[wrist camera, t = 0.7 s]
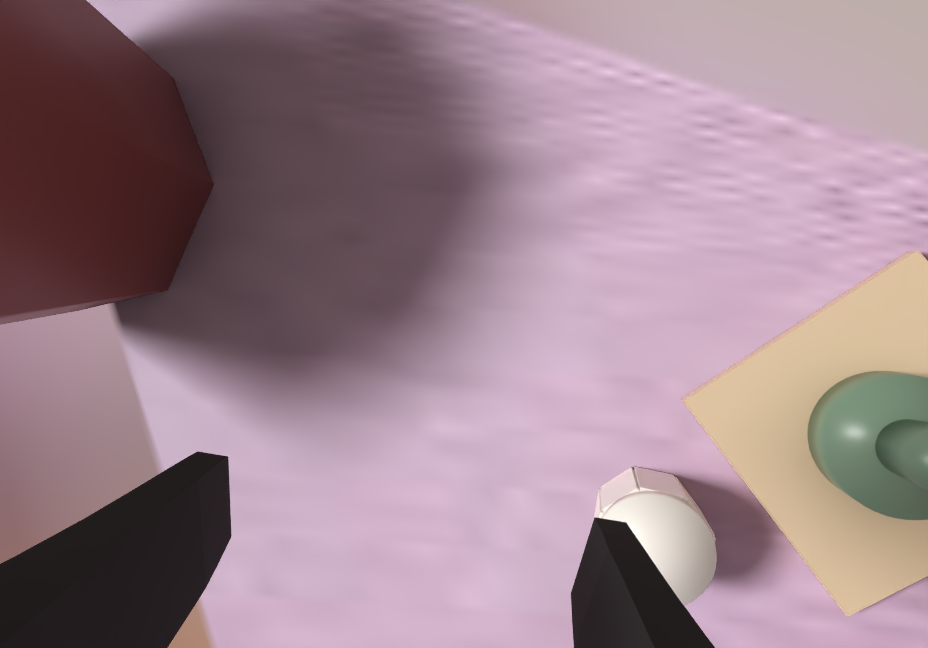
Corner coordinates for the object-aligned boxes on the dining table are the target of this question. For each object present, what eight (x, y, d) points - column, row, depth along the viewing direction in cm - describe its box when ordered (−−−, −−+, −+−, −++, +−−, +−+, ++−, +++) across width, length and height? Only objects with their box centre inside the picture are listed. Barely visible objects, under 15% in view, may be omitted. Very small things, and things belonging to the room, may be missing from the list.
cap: (719, 534, 26) (742, 573, 22) (634, 583, 27) (641, 629, 23) (656, 450, 26) (668, 474, 23) (576, 501, 27) (573, 532, 24)
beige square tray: (1098, 473, 22) (1271, 526, 17) (839, 607, 25) (913, 694, 19) (907, 252, 24) (1006, 232, 18) (680, 399, 26) (705, 422, 21)
